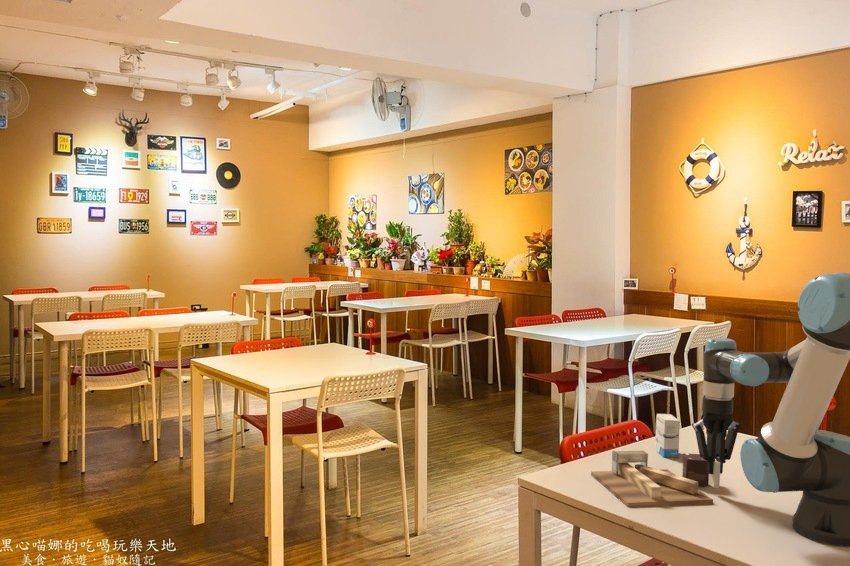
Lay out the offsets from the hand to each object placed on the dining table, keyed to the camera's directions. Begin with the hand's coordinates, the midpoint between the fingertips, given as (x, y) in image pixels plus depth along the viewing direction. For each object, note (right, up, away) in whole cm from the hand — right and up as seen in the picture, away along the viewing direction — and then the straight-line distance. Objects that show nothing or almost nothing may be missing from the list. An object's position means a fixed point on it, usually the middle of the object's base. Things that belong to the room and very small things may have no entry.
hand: (713, 485), depth 186 cm
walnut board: (-16, -2, +4) cm, 16 cm away
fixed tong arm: (-19, -2, +4) cm, 20 cm away
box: (-1, -2, +9) cm, 10 cm away
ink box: (0, -1, +36) cm, 36 cm away
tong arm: (-12, -1, +5) cm, 12 cm away
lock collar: (-19, 0, +13) cm, 23 cm away
